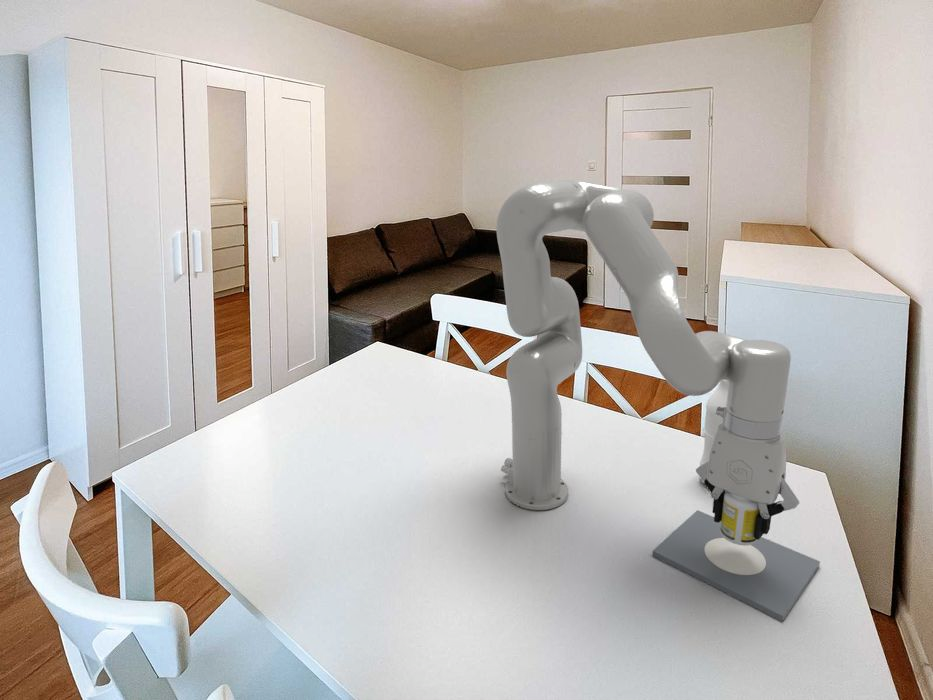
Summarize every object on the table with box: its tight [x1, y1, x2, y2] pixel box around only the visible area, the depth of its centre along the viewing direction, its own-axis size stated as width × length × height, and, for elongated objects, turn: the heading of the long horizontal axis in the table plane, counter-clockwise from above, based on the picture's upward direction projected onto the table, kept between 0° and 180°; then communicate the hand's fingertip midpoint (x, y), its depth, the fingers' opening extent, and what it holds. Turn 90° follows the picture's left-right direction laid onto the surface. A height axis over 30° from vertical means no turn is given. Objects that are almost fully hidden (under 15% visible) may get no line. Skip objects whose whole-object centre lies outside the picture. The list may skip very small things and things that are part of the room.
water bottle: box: [699, 380, 729, 485], centre depth 107 cm, size 7×7×25 cm
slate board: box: [651, 509, 821, 623], centre depth 89 cm, size 20×16×1 cm
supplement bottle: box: [721, 491, 760, 545], centre depth 86 cm, size 5×5×10 cm
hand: (739, 525), depth 87 cm, fingers closed on supplement bottle, 5 cm apart
